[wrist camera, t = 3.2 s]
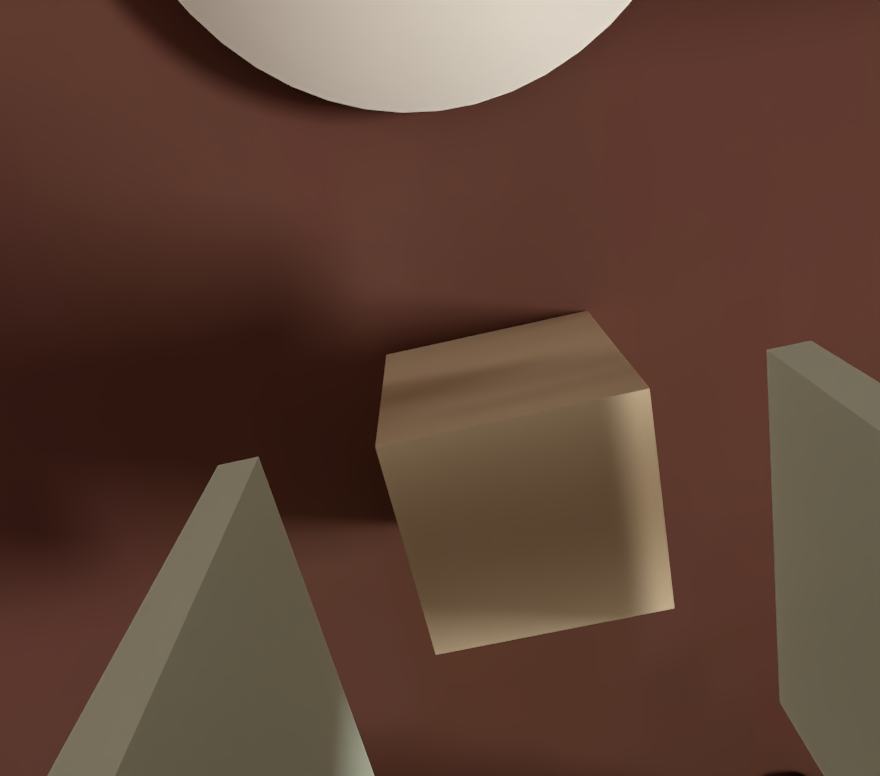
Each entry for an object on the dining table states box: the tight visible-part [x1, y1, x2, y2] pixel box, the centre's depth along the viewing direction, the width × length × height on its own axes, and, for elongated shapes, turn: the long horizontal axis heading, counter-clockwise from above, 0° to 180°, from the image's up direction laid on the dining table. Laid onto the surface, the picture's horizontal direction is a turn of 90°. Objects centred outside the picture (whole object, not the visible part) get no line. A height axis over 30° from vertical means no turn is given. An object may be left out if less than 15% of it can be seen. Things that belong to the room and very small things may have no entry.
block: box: [375, 311, 674, 655], centre depth 13 cm, size 4×4×4 cm
